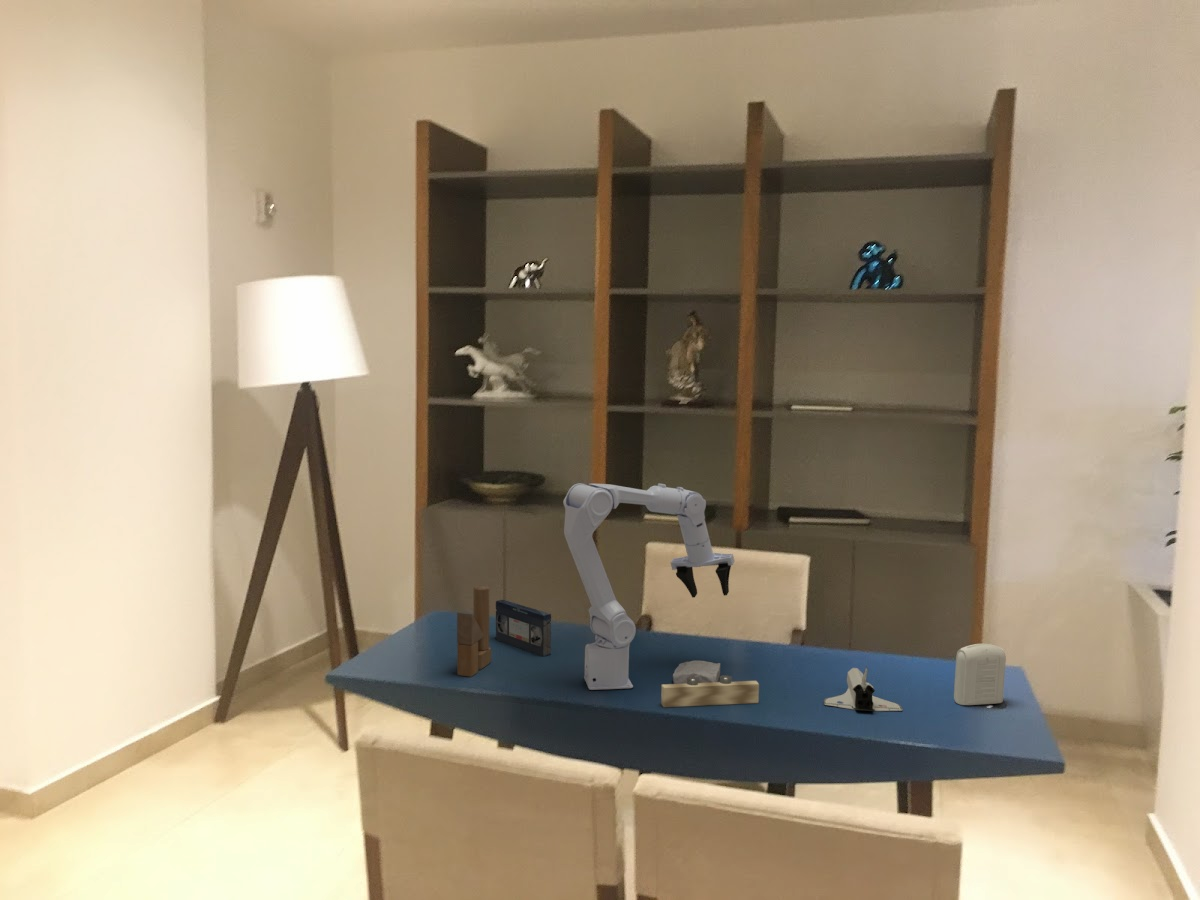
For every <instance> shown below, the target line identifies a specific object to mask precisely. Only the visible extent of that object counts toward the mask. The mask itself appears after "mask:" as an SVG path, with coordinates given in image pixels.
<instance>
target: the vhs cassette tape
mask: <svg viewBox="0 0 1200 900" xmlns="http://www.w3.org/2000/svg"><path fill="white" fill-rule="evenodd" d="M495 609H496V610H495V639H496V640H497V641H499V642H502V643H505V644H507V645H510V646H513V647H516V648H518V649H521V650H524V651H525V652H529V653H532V654H534V655H537V656H540V657H547V656H551V655H552V646H551V645H552V614H551V613H548V612H545V611H542V610H538V609H536V608H532V607H529V606H525V605H523V604H519V603H516V602H512V601H509V600H505V599H499V600H496V601H495Z"/></svg>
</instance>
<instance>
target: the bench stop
mask: <svg viewBox="0 0 1200 900" xmlns="http://www.w3.org/2000/svg"><path fill="white" fill-rule="evenodd" d="M759 692H760V684H759V682H758V681H757V680H742V681H732V676H730V675H728V674H727V675H726V674H723V675H720V677H719V681H718V682H713V683H699V679H698V678H697V677H687V684H674V683H668V684H664V683H663V684H661V693H660V695H661V696H660V697H661V699H660V700H661V701H660V702H661V703H660V704H661V706H662V707H663V708H673V707H674V708H676V707H677V708H678V707H693V706H694V707H696V706H697V707H698V706H719V705H740V704H742V705H743V704H744V705H745V704H759V696H760V695H759V694H760V693H759Z"/></svg>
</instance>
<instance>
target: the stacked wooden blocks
mask: <svg viewBox="0 0 1200 900" xmlns="http://www.w3.org/2000/svg"><path fill="white" fill-rule="evenodd" d="M472 603H473V606H472V607H473V608H472V609H473V614H472V613H465V612H457V613H456V615H457V616H456V624H457V625H456V644H457V654H456V655H457V656H456V657H457V659H456V660H457V662H456V663H457V665H456V667H457V672H456V673H457V676H460V677H462V676H463V677H474V676H475V674H478V672H479V670H482V669H484V668H485V667H486V666H488V665H489V664H490V663H491V662H492V648H491V646H490V587H489V586H488V585H475V586H474V587H473V602H472Z"/></svg>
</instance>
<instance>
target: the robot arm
mask: <svg viewBox="0 0 1200 900" xmlns="http://www.w3.org/2000/svg"><path fill="white" fill-rule="evenodd" d="M562 503H563V507H564V510H565V511H564V513H565V514H564V525H563V526H564V527H563V534H564V539H565V540H566V543H567V546H568V548H569V551H570V554H571V556H572V558H573V560H574V564H575V566H576V569H577V571H578V574H579V576H580V577H579V578H580V579H581V582H582V584H583V587H584V589H585V592H586V595H587V598H588V600H589V602H590V605H591V606H590V607H589V609H588V613H589V616H590V617H589V618H590V620H589V626H590V627H589V628H590V630H591V632H592V633H593V634H594V635H595V636H594V640H595V642H592V643H587V644H585V648H584V677H583V678H584V679H583V680H584V681H585V682H586V685H587V686H586V687H587V688H588V690H591V691H594V690H596V691H597V690H618V689H619V690H623V689H632V688H633V687H634V685H633V684H632V682H631V680H630V678H629V671H630V670H629V667H630V666H629V665H630V664H629V661H630V646H631V643H632V641H633V640H634V638H635V636H636V631H637V628H636V625H635V622H634V621H633V620H632V619H631V618H630V617H629V616H628V614H627V611H626V610H625V609H624V607H623V606H622V605H621V604H620V602H618V600H617V598H616V596H615V594H614V591H613V588H612V586H611V583H610V580H609V578H608V575H607V572H606V569H605V567H604V564H603V561H602V559H601V557H600V554H599V551H598V549H597V546H596V543H595V541H594V539H593V534H594V532H595V531H596V530H597V528H598V527H599V526H601V524H602V523H603V521H604V520H605V519H606V518H607V516H609V514H610V513H611V511H612V509H614V510H615V509H617V507H618V506H619V505H620V504H622V503H623V504H632V505H644V506H645V507H646V509H647V510H648V511H649V512H652V513H660V514H668V515H669V514H670V515H676V517H677V519H678V523H679V526H680V527H679V528H680V531H681V536H682V540H683V543H684V547H685V550H686V555H685V556H683V557H682V556H681V557H676V558H672V560H671V561H670V566H671V570H674V571H676V573H675V575H676V577H677V578H678V579H679V580H680V581H681V582H682V584H684V586H685V587H686V590H687V591H688V592H689V594H690V596H691V598H693V599H694V598H695V597H697V595H698V588H697V586H696V582H695V578H694V569H693V568H701V567H708V566H709V567H710V566H716V569H715V573H716V576H717V578H718V580H719V583H720V587H721V591H722V595H723V596H728V594H729V592H730V590H729V589H730V588H729V585H730V584H729V579H730V572H731V568H732V566H734V565H733V564H735V558H734V557H735V556H734V553H720V552H714V551H713V548H712V543H711V540H710V535H709V531H708V527H707V524H706V516H705V511H706V506H707V501H706V499H704V497H703V495H701V494H700V492H698V491H693V490H688V489H685V488H684V487H682V486H677V487H676V488H674V487H667V485H666V484H664V483H657V485H652V486H650V487H649V488H648V489H647V490H645V489H640V488H633V487H628V486H627V487H626V486H621V485H616V484H609V483H608V484H607V483H588V485H587V484H585V483H582V482H580V483H575V484H573V485H572V486H571V487H570V488H569V489H568V492H566V495H565V497H564V499H563V502H562Z"/></svg>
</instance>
